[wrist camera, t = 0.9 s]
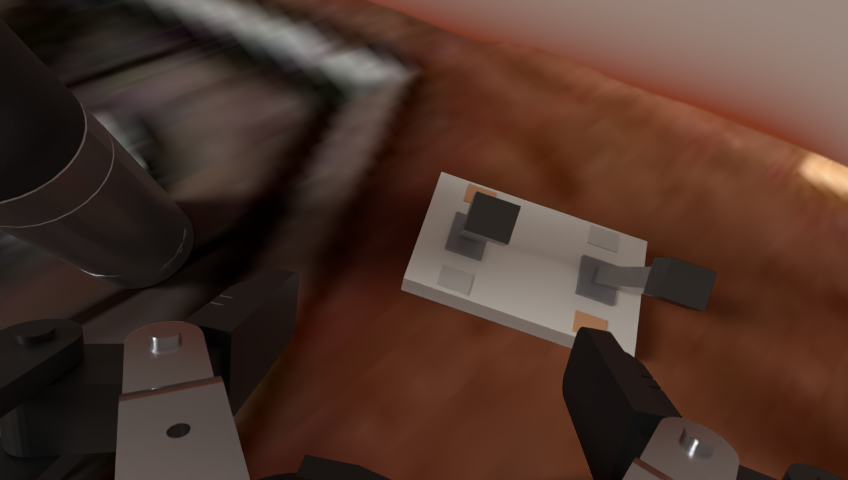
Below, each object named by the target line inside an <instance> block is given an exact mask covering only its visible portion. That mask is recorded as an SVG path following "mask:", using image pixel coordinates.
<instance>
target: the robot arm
mask: <svg viewBox="0 0 848 480" xmlns="http://www.w3.org/2000/svg"><path fill="white" fill-rule="evenodd" d="M0 230H2V231H4V232H7V233H9V234H11V235H13V236H15V237H17V238H19V239H21V240H23V241H25V242H27V243H29V244H31V245H33V246H35V247H37V248H39V249H41V250H43V251H45V252H47V253H49V254H51V255H53V256H55V257H57V258H59V259H61V260H63V261H65V262H67V263H69V264H71V265H73V266H75V267H77V268H79V269H81V270H83V271H85V272H87V273H89V274H91V275H93V276H95V277H97V278H99V279H101V280H103V281H105V282H107V283H109V284H111V285H114V286H117V287H120V288H127V289H138V288H145V287H149V286H153V285H155V284H158V283H160V282H162V281H164V280H166V279H167V278H169V277H170V276H172V275H173V274H174V273H175V272H177V271H178V270H179V269H180V268H181V267H182V265H183V264H184V263H185V261H186V260H187V259H188V257H189V254H190V252H191V250H192V247H193V242H194V230H193V227H192V223H191V221H190V220H189V218H188V216H187V215H186V214H185V213H184V212H183V211H182V210H181V209H180V208H179V206H178V205H177V204H176V203H175V202H174V201H173V200H172V199H171V198H170V197H169V196H168V194H167V193H166V192H165V191H164V190H163V189H162V188H161V187H160V186H159V185H158V184H157V183H156V182H155V180H154V179H153V178H152V177H151V176H150V175H149V174H148V173H147V172H146V171H145V170H144V169H143V168H142V167H141V166H140V164H139V163H138V162H137V161H136V160H135V159H134V158H133V157H132V156H131V155H130V154H129V153H128V152H127V151H126V150H125V148H124V147H123V146H122V145H121V144H120V143H119V142H118V141H117V140H116V139H115V138H114V137H113V136H112V135H111V134H110V132H109V131H108V130H107V129H106V128H105V127H104V126H103V125H102V124H101V123H100V122H99V121H98V120H97V119H96V118H95V117H94V116H93V115H92V114H91V112H90V111H89V110H88V109H87V108H86V107H85V106H84V105H83V104H82V103H81V102H80V101H79V100H78V99H77V98H76V96H75V95H74V94H73V93H72V92H71V91H70V90H69V89H68V88H67V87H66V86H65V85H64V84H63V83H62V82H61V81H60V80H59V79H58V78H57V77H56V76H55V75H54V74H53V73H52V72H51V71H50V70H49V69H48V68H47V67H46V66H45V65H44V64H43V63H42V62H41V61H40V60H39V59H38V58H37V57H36V55H35V54H34V53H33V52H32V51H31V50H30V49H29V48H28V47H27V46H26V45H25V44H24V43H23V42H22V41H21V40H20V39H19V38H18V36H17V35H16V34H15V33H14V32H13V31H12V30H11V29H10V28H9V27H8V26H7V25H6V24H5V22H4V21H3V20H2V19H1V18H0ZM298 286H299V276H298V273H297V272H292V271H287V270H281V269H276V268H269V269H268V270H266V271H265V272H264V273H263V274H261V275H260V276H259V277H258V278H256V279H255V280H254V281H249V280H248V281H245V282H242V283H239V284H236V285H233V286H231V287H229V288H228V289H227V290H225V291H224V292H223V293H221V294H220V296H217V297H216V298H215V299H213V300H212V301H211V303H210V304H209V303H208V304H207V305H205V306H204V307H203V308H201V309H200V310H199V311H197V312H196V313H195V314H193V315H192V316H191V317H189V318H188V319H187V320H185V321H184V322H161V323H155V324H151V325H148V326H144V327H142V328H140V329H138V330H136V331H134V332H133V333H131V334H130V335H129V336H128V337H127V338H126V340H125V343H124V344H84V341H83V329H82V327H81V326H80V325H79V324H78V323H76V322H73V321H70V320H64V319H43V320H35V321H29V322H24V323H20V324H17V325H13V326H11V327H8V328H5V329H3V330H1V331H0V432H1V437H0V480H60V479H62V478H63V477H64V476H65V475H66V474H67V473H68V472H69V471H70V470H71V469H72V468H73V467H74V466H75V465H76V464H77V463H78V462H79V461H80V460H81V459H82V458H83V457H84V456H85V454H87V453H103V452H116V468H115V480H250V478H249V474H248V471H247V467H246V463H245V460H244V456H243V452H242V449H241V445H240V441H239V438H238V434H237V430H236V427H235V423H234V419H233V417H234V416H235V414H236V413H237V412H238V410H239V409H240V408H241V406H242V405H243V404H244V402H245V401H246V400H247V398H248V397H249V396H250V394H251V393H252V392H253V390H254V389H255V388H256V386H257V385H258V384H259V382H260V381H261V380H262V378H263V377H264V376H265V375H266V373H267V372H268V371H269V369H270V368H271V367H272V365H273V364H274V363H275V361H276V360H277V359H278V357H279V356H280V355H281V353H282V352H283V351H284V349H285V348H286V347H287V345H288V344H289V342H290V340H291V338H292V335H293V332H294V328H295V321H296V309H297V298H298ZM562 389H563V397H564V400H565V403H566V406H567V408H568V411H569V414H570V416H571V419H572V422H573V425H574V427H575V430H576V433H577V435H578V438H579V441H580V444H581V446H582V449H583V452H584V454H585V457H586V460H587V463H588V465H589V468H590V471H591V473H592V476H593V479H594V480H777V479H774V478H772V477H769V476H767V475H764V474H761V473H759V472H756V471H754V470H751V469H749V468H746V467H744V466H741V465H739V458H738V455H737V453H736V452H735V450H734V449H733V448H732V447H731V445H730V444H729V443H728V442H726V441H725V440H724V439H723V438H722V437H720V436H719V435H718V434H716V433H715V432H713V431H712V430H710V429H708V428H706V427H705V426H703V425H700V424H698V423H696V422H693V421H691V420H688V419H684V418H683V417H682V416H681V415H680V413H679V412H678V411H677V409H676V408H675V407H674V405H673V404H672V403H671V401H670V400H669V399H668V397H667V396H666V394H665V393H664V392H663V391H662V390H661V388H660V386H659V385H658V384H657V382H656V381H655V380H653V377H652V376H651V374H650V373H649V371H648V370H647V369H646V367H645V366H644V365H643V364H642V363H641V362H639V361H638V360H637V359H635V358H634V357H633V356H632V355H630V354H629V353H627V352H624V350H623V349H622V347H621V346H620V344H619V343H618V342H617V340H616V339H615V337H614V336H613V334H612V333H611V332H610V331H604V330H599V329H594V328H588V327H581V328H580V329H579V330H578V332H577V334H576V337H575V340H574V344H573V347H572V350H571V353H570V357H569V360H568V363H567V367H566V370H565V373H564V377H563V387H562ZM258 480H390V479H388V478H386V477H384V476H381V475H379V474H377V473H375V472H372V471H370V470H368V469H366V468H363V467H361V466H359V465H354V464H349V463H344V462H339V461H334V460H329V459H324V458H319V457H314V456H309V455H305V457H304V459H303V461H302V463H301V466H300V468H299V470H298V472H297V473H286V474H278V475H273V476H269V477H264V478H261V479H258ZM782 480H843V479H841V478H840V477H838V476H836V475H834V474H832V473H830V472H827V471H825V470H823V469H820V468H817V467H814V466H811V465H807V464H798V463H796V464H792V465H790V466H789V467H788V469H787V471H786V473H785V475H784V477H783V478H782Z"/></svg>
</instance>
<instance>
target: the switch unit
mask: <svg viewBox="0 0 848 480" xmlns="http://www.w3.org/2000/svg"><path fill="white" fill-rule="evenodd" d="M476 191H478V192H481V193H484V194H487V195H490V196H493V197H496V198H499V199H501V200H504V201H507V202H510V203H513V204H516V205H519V206H521V208H520V211H519V214H518V217H517V221H516V224H515V227H514V230H513V233H512V236H511V239H510V242H509V245H505V246H501V245H498V244H495V243H492V242H489V241H485V242H482V243H480V244H476V243H473V242H471V241H468V240H465V239H462V238H459V237H458V235H459V232H460V229H461V226H462V223H463V221H464V220H465V218H466V215H467V212H468V209H469V206H470V203H471V200H472V197H473V195H474V194H475V193H476ZM646 248H647V241H644V240H641V239H638V238H635V237H632V236H629V235H626V234H623V233H620V232H618V231H615V230H612V229H609V228H606V227H603V226H600V225H597V224H594V223H591V222H588V221H585V220H582V219H579V218H576V217H573V216H570V215H567V214H564V213H561V212H558V211H556V210H553V209H550V208H547V207H544V206H541V205H538V204H535V203H532V202H529V201H526V200H523V199H520V198H517V197H514V196H511V195H508V194H505V193H502V192H499V191H496V190H494V189H491V188H488V187H485V186H482V185H479V184H476V183H473V182H470V181H467V180H464V179H461V178H458V177H455V176H452V175H449V174H446V173H443V172H441V175H440V178H439V181H438V183H437V186H436V189H435V192H434V195H433V197H432V200H431V203H430V206H429V209H428V211H427V214H426V217H425V220H424V223H423V225H422V228H421V231H420V234H419V237H418V239H417V242H416V245H415V248H414V251H413V253H412V256H411V259H410V262H409V265H408V267H407V270H406V273H405V276H404V279H403V283H402V287H401V290H403V291H406V292H409V293H412V294H415V295H418V296H421V297H423V298H426V299H429V300H432V301H435V302H438V303H441V304H444V305H447V306H450V307H452V308H455V309H458V310H461V311H464V312H467V313H470V314H473V315H476V316H479V317H481V318H484V319H487V320H490V321H493V322H496V323H499V324H502V325H505V326H508V327H511V328H513V329H516V330H519V331H522V332H525V333H528V334H531V335H534V336H537V337H540V338H542V339H545V340H548V341H551V342H554V343H557V344H560V345H563V346H566V347H569V348H571V349H572V347H573V344H574V340H575V337H576V334H577V332H578V330H579V329H580V328H581V327H588V328H594V329H599V330H604V331H610V332H611V333H612V334H613V336H614V337H615V339H616V340H617V342H618V343H619V344H620V346H621V347H622V349H623V350H624V352H627V353H629V354H630V355H632V356H633V357H634V356H635V347H636V338H637V329H638V320H639V311H640V302H641V294H640V293H633V292H625V291H618V290H611V289H608V288H605V287H602V286H599V285H597V284H594V283H591V281H592V278H593V274H594V271H595V268H596V266H622V267H644V266H645V257H646Z"/></svg>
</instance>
